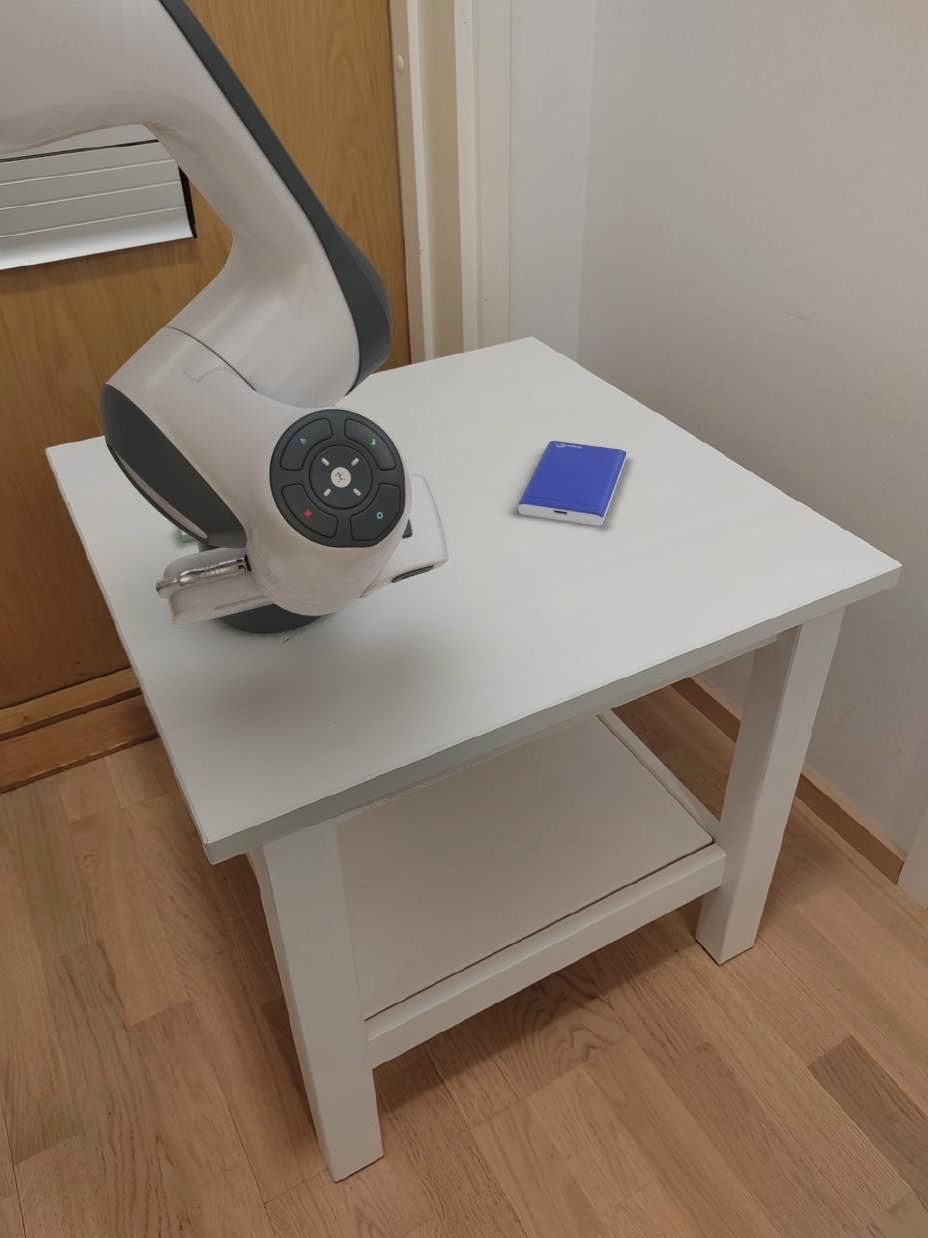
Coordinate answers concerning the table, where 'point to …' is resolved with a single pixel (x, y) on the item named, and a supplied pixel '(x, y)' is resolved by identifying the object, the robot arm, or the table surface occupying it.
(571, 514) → the hard drive
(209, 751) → the table surface
